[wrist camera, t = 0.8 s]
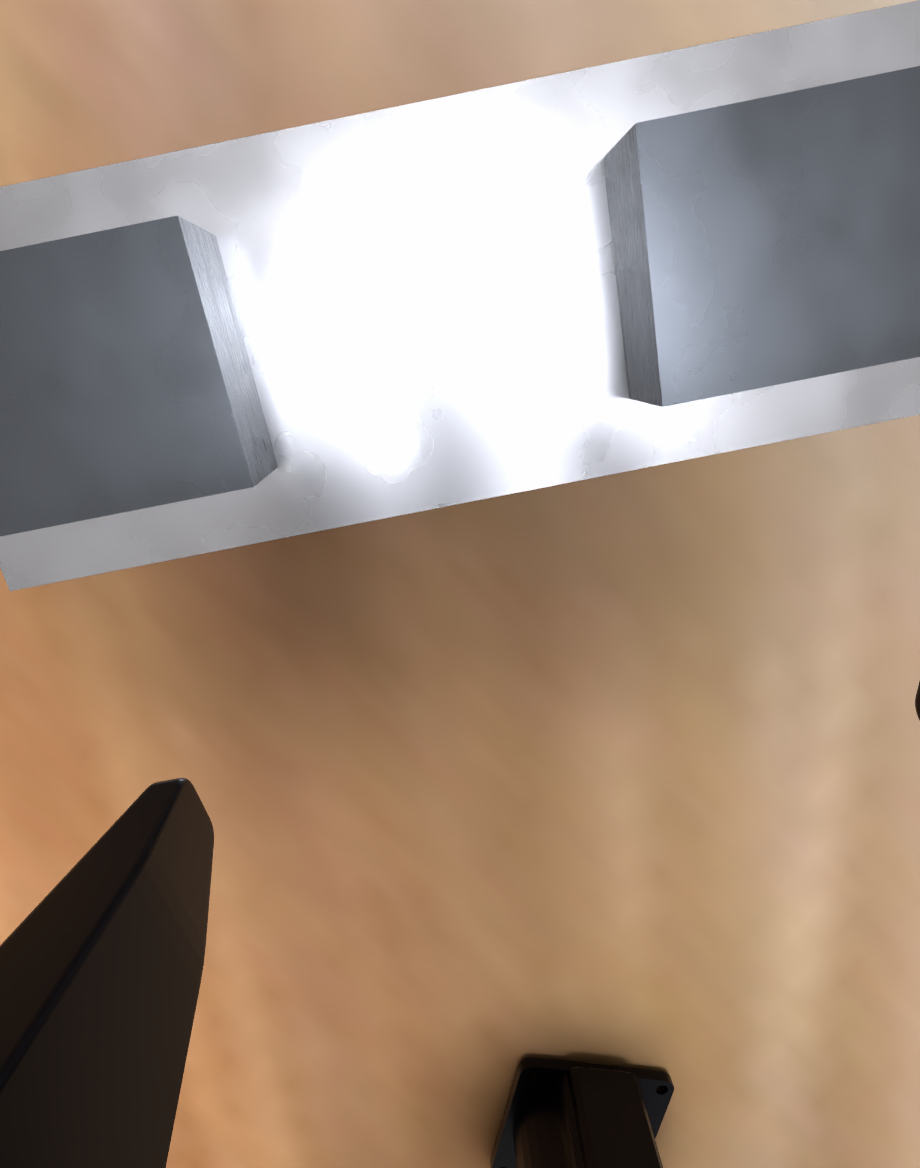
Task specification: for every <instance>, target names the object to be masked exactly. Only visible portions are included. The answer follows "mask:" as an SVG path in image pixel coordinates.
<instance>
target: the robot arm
mask: <svg viewBox="0 0 920 1168" xmlns="http://www.w3.org/2000/svg"><path fill="white" fill-rule="evenodd" d="M915 707H916V712H917V715H918V718H919V720H920V682H919V686H918V690H917V694H916V699H915ZM213 847H214V832H213V826H212V822H211V820H210V818H209V816H208V814H207V812H206V810H205V808H204V806H203V804H202V802H201V800H200V798H199V796H198V794H197V792H196V790H195V788H194V786H193V785H192V783H191V782H190V781H189V780H188V779H185V778H178V779H172V780H167V781H161V782H156V783H154V784H152V785H150V786H149V787H148V788H147V789H146V790H145V791H144V792H143V793H142V794H141V795H140V796H139V797H138V799H137V800H136V801H135V802H134V803H133V804H132V805H131V806H130V807H129V808H128V809H127V810H126V811H125V812H124V814H123V815H122V816H121V817H120V818H119V819H118V820H117V821H116V822H115V823H114V824H113V825H112V826H111V827H110V829H109V830H108V831H107V832H106V833H105V834H104V835H103V836H102V837H101V838H100V839H99V840H98V841H97V843H96V844H95V845H94V846H93V847H92V848H91V849H90V850H89V851H88V852H87V853H86V854H85V855H84V856H83V858H82V859H81V860H80V861H79V862H78V863H77V864H76V865H75V866H74V867H73V868H72V869H71V870H70V871H69V873H68V874H67V875H66V876H65V877H64V878H63V879H62V880H61V881H60V882H59V883H58V884H57V885H56V886H55V888H54V889H53V890H52V891H51V892H50V893H49V894H48V895H47V896H46V897H45V898H44V899H43V900H42V901H41V903H40V904H39V905H38V906H37V907H36V908H35V909H34V910H33V911H32V912H31V913H30V914H29V915H28V916H27V918H26V919H25V920H24V921H23V922H22V923H21V924H20V925H19V926H18V927H17V928H16V929H15V930H14V931H13V933H12V934H11V935H10V936H9V937H8V938H7V939H6V940H5V941H4V942H3V943H2V944H1V945H0V1168H166V1162H167V1157H168V1152H169V1147H170V1141H171V1136H172V1131H173V1125H174V1120H175V1115H176V1110H177V1104H178V1099H179V1094H180V1089H181V1083H182V1078H183V1073H184V1068H185V1062H186V1057H187V1052H188V1046H189V1041H190V1036H191V1031H192V1025H193V1020H194V1015H195V1010H196V1004H197V999H198V994H199V989H200V983H201V977H202V971H203V965H204V956H205V946H206V935H207V922H208V910H209V897H210V884H211V872H212V859H213ZM673 1091H674V1086H673V1083H672V1080H671V1078H670V1075H668V1074H667V1073H665V1072H660V1071H651V1070H641V1069H632V1068H623V1067H614V1066H605V1065H596V1064H587V1063H578V1062H569V1061H560V1060H551V1059H541V1058H527V1059H524V1060H523V1061H521V1062H520V1064H519V1066H518V1070H517V1073H516V1076H515V1080H514V1083H513V1086H512V1090H511V1093H510V1096H509V1100H508V1103H507V1106H506V1110H505V1113H504V1116H503V1120H502V1123H501V1127H500V1130H499V1133H498V1137H497V1140H496V1143H495V1147H494V1150H493V1153H492V1157H491V1160H490V1164H491V1168H663V1166H662V1162H661V1159H660V1155H659V1152H658V1148H657V1145H656V1141H655V1138H656V1135H657V1132H658V1130H659V1127H660V1125H661V1122H662V1120H663V1117H664V1114H665V1112H666V1109H667V1107H668V1104H669V1102H670V1099H671V1096H672V1094H673Z"/></svg>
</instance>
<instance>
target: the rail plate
mask: <svg viewBox="0 0 920 1168" xmlns="http://www.w3.org/2000/svg"><path fill="white" fill-rule="evenodd" d="M919 414H920V0H919V1H914V2H909V3H905V4H900V5H895V6H890V7H885V8H880V9H875V10H870V11H865V12H860V13H855V14H850V15H845V16H841V17H836V18H831V19H826V20H821V21H816V22H811V23H806V24H801V25H796V26H791V27H786V28H781V29H777V30H772V31H767V32H762V33H757V34H752V35H747V36H742V37H737V38H732V39H727V40H722V41H717V42H712V43H708V44H703V45H698V46H693V47H688V48H683V49H678V50H673V51H668V52H663V53H658V54H653V55H648V56H644V57H639V58H634V59H629V60H624V61H619V62H614V63H609V64H604V65H599V66H594V67H589V68H584V69H579V70H575V71H570V72H565V73H560V74H555V75H550V76H545V77H540V78H535V79H530V80H525V81H520V82H515V83H511V84H506V85H501V86H496V87H491V88H486V89H481V90H476V91H471V92H466V93H461V94H456V95H451V96H446V97H442V98H437V99H432V100H427V101H422V102H417V103H412V104H407V105H402V106H397V107H392V108H387V109H382V110H378V111H373V112H368V113H363V114H358V115H353V116H348V117H343V118H338V119H333V120H328V121H323V122H318V123H313V124H309V125H304V126H299V127H294V128H289V129H284V130H279V131H274V132H269V133H264V134H259V135H254V136H249V137H245V138H240V139H235V140H230V141H225V142H220V143H215V144H210V145H205V146H200V147H195V148H190V149H185V150H180V151H176V152H171V153H166V154H161V155H156V156H151V157H146V158H141V159H136V160H131V161H126V162H121V163H116V164H112V165H107V166H102V167H97V168H92V169H87V170H82V171H77V172H72V173H67V174H62V175H57V176H52V177H47V178H43V179H38V180H33V181H28V182H23V183H18V184H13V185H8V186H3V187H0V568H1V570H2V573H3V575H4V578H5V580H6V582H7V585H8V587H9V590H10V591H13V590H18V589H24V588H29V587H34V586H39V585H44V584H49V583H54V582H60V581H65V580H70V579H75V578H80V577H85V576H90V575H96V574H101V573H106V572H111V571H116V570H121V569H127V568H132V567H137V566H142V565H147V564H152V563H157V562H163V561H168V560H173V559H178V558H183V557H188V556H193V555H199V554H204V553H209V552H214V551H219V550H224V549H229V548H235V547H240V546H245V545H250V544H255V543H260V542H266V541H271V540H276V539H281V538H286V537H291V536H296V535H302V534H307V533H312V532H317V531H322V530H327V529H332V528H338V527H343V526H348V525H353V524H358V523H363V522H368V521H374V520H379V519H384V518H389V517H394V516H399V515H405V514H410V513H415V512H420V511H425V510H430V509H435V508H441V507H446V506H451V505H456V504H461V503H466V502H471V501H477V500H482V499H487V498H492V497H497V496H502V495H507V494H513V493H518V492H523V491H528V490H533V489H538V488H544V487H549V486H554V485H559V484H564V483H569V482H574V481H580V480H585V479H590V478H595V477H600V476H605V475H610V474H616V473H621V472H626V471H631V470H636V469H641V468H646V467H652V466H657V465H662V464H667V463H672V462H677V461H682V460H688V459H693V458H698V457H703V456H708V455H713V454H719V453H724V452H729V451H734V450H739V449H744V448H749V447H755V446H760V445H765V444H770V443H775V442H780V441H785V440H791V439H796V438H801V437H806V436H811V435H816V434H821V433H827V432H832V431H837V430H842V429H847V428H852V427H858V426H863V425H868V424H873V423H878V422H883V421H888V420H894V419H899V418H904V417H909V416H914V415H919Z"/></svg>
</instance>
